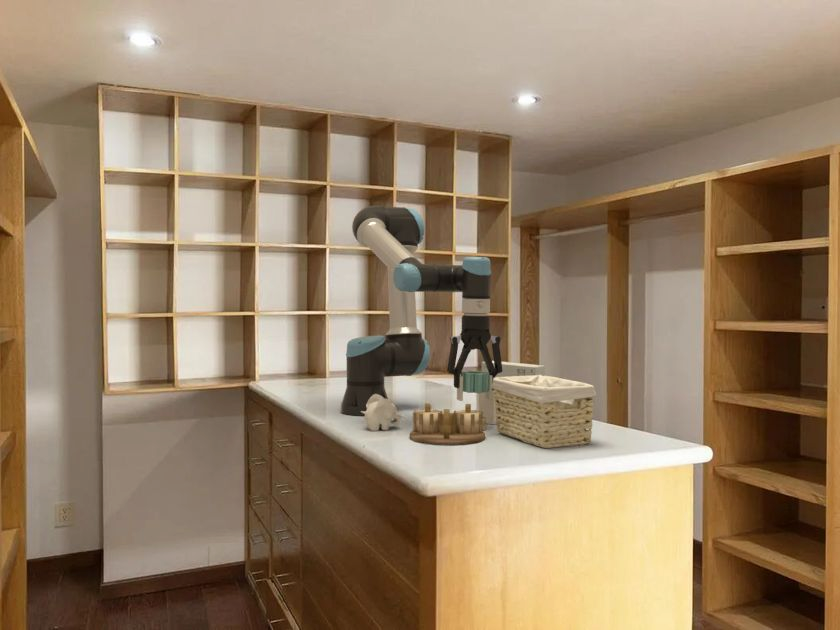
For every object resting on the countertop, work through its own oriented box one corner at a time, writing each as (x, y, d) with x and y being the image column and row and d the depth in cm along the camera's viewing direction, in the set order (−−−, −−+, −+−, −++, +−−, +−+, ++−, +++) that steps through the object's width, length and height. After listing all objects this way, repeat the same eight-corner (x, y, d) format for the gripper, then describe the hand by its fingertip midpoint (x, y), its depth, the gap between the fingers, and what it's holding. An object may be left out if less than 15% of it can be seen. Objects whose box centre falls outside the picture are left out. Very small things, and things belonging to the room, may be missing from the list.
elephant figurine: (409, 430, 183) (409, 397, 183) (364, 433, 180) (364, 399, 180) (399, 424, 193) (399, 392, 192) (356, 427, 189) (356, 394, 189)
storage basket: (598, 445, 165) (599, 383, 165) (541, 451, 158) (541, 387, 158) (542, 428, 187) (542, 374, 186) (489, 433, 180) (489, 376, 180)
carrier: (401, 432, 180) (401, 402, 180) (470, 429, 186) (470, 399, 185) (421, 447, 162) (421, 413, 162) (497, 442, 167) (497, 409, 167)
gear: (456, 389, 189) (456, 371, 189) (482, 388, 191) (483, 370, 191) (465, 393, 181) (466, 374, 181) (492, 392, 184) (493, 374, 183)
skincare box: (480, 413, 213) (480, 361, 213) (492, 411, 217) (492, 360, 216) (535, 421, 197) (535, 366, 197) (546, 419, 201) (547, 364, 201)
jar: (488, 425, 191) (488, 382, 191) (470, 421, 198) (470, 379, 197) (512, 422, 196) (512, 380, 196) (494, 418, 203) (494, 377, 202)
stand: (462, 427, 188) (462, 416, 188) (481, 426, 189) (481, 415, 189) (469, 431, 182) (469, 419, 182) (489, 430, 184) (489, 418, 184)
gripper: (443, 315, 179) (442, 403, 180) (516, 315, 184) (515, 400, 185) (435, 314, 186) (433, 398, 187) (505, 314, 192) (504, 396, 193)
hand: (474, 399), depth 186 cm, fingers closed on gear, 8 cm apart
